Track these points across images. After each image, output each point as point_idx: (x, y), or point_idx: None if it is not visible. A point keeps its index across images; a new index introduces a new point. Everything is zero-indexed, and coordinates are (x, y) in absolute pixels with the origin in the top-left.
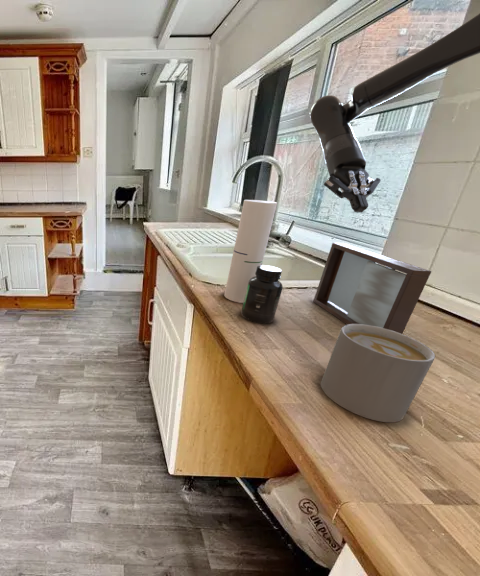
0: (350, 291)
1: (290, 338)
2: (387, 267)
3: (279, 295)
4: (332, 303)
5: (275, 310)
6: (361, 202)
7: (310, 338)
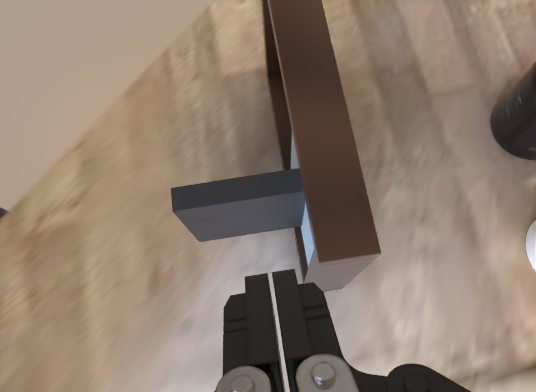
0: None
1: (466, 52)
2: (192, 195)
3: (531, 65)
4: (304, 256)
5: (509, 90)
6: (288, 291)
7: (425, 63)
